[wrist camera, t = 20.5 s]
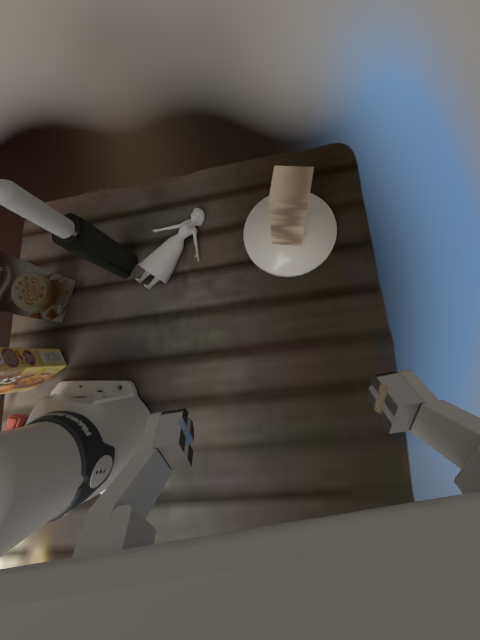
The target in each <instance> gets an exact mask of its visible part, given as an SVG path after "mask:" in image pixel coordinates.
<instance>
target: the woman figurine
mask: <svg viewBox="0 0 480 640" xmlns="http://www.w3.org/2000/svg"><path fill="white" fill-rule="evenodd" d="M204 218H205V214H204V212H203V210H202V209H200V208H195V209H193V213H192V214H191V219H189V220H186V221H184V222H183V223H181V224H177V225H173V226H169V227H165V228H161V229H155V230H152V231H154V232H155V233H156V232H159V231H162V230H168V229H169V230H170V229H177V228H180V229H179V231H178V234H176V235H174V236H172V237H170V238H169V239H168V240H166V241H165V242H164V243H163V244H162V245H161V246H160V247H159V248H157V249H156V250H155V251H154V252H152V253H151V254H150V255H149V256H148V257H146V258H145V259H144V260H143V261H142V262H141V263H140V264H138V265H139V266H141V267H142V268H143V269H145V270H146V271H145V272H144V274H143V275H142V277H141V278H138V279H137V278H136V279H135V280H137V281H138V282H139V283H141V282H142V281H143V280H144V279H145V278H146V277H147V276H149V275H150V274H152V275H153V276H155V277H154V278H153V280H152V281H151V282H150V283H149V284H147V285H145V284H144V286H145V287H146V288H147V289H150V288H151V287H152V286H153V285H154V284H156V283H157V282H158V281H159V280H161V281H162V282H163V283H165V284H167V282H168V280H169V278H170V277H171V275H172V273H173V271H174V269H175V267H176V264H177V262H178V260H179V258H180V255H181V253H182V251H183V247H184V239H185V238H187V237H188V236H190V235H192V234H193V237H194V244H195V248H196V255H195V258H196V256H197V258H198V262H199V254H198V242H197V232H198V231H197V229H196V227H195V226H200V225H202V224H203V221H204Z"/></svg>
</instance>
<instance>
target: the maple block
mask: <svg viewBox="0 0 480 640" xmlns="http://www.w3.org/2000/svg"><path fill="white" fill-rule="evenodd" d="M313 169H314V167H299V166H274V171H273V177H272V183H271V188H270V194H269V200H268V203H269V215H270V226H271V237H272V244H280V245H291V246H301V244H302V238H303V232H304V226H305V220H306V214H307V208H308V202H309V196H310V189H311V183H312V176H313Z"/></svg>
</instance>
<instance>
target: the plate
mask: <svg viewBox="0 0 480 640" xmlns="http://www.w3.org/2000/svg"><path fill="white" fill-rule="evenodd" d="M268 200H269V196H267V197H266V198H264V199H263V200H261V201H260V202H259V203H258V204H257V205H256V206H255V207H254V208H253V209H252V211H251V212H250V214H249V216H248V218H247V220H246V223H245V226H244V233H243V234H244V244H245V247H246V251H247V253H248V255H249V257H250V258H251V260H252V261H253V263H254V264H255V265H256V266H257V267H259V268H260V269H261V270H263V271H264V272H266V273H268V274H271V275H274V276H278V277H296V276H301V275H304V274H307V273H309V272H311V271H313V270H314V269H316V268H317V267H319V266H320V265H321V264H322V263H323V262H324V261H325V260H326V259H327V257H328V256H329V254H330V252H331V251H332V249H333V246H334V244H335V241H336V236H337V224H336V220H335V217H334V214H333V212H332V210H331V209H330V207H329V206H328V205H327V204H326V203H325V202H324V201H323V200H322V199H321V198H319V197H318V196H316V195H314V194H312V193H310V196H309V202H308V208H307V214H306V220H305V226H304V232H303V238H302V244H301V246H291V245H280V244H272V237H271V226H270V215H269V203H268Z"/></svg>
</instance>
